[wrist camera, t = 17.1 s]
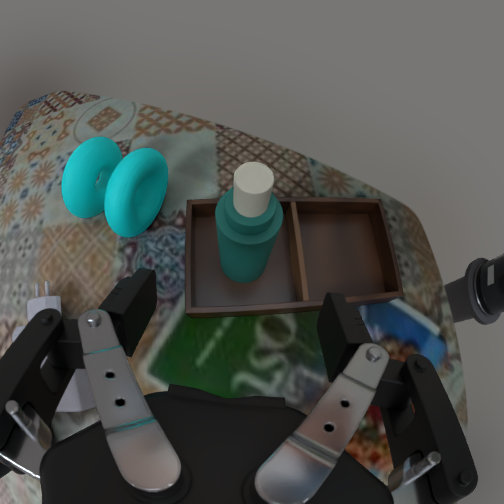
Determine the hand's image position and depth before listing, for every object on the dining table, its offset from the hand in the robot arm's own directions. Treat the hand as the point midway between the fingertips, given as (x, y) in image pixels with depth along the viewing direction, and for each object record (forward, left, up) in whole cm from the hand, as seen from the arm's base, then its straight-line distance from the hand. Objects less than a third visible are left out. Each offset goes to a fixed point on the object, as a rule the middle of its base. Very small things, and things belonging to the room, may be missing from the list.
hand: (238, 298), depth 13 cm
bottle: (-1, -7, -16) cm, 18 cm away
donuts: (+13, -15, -17) cm, 27 cm away
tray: (-7, -7, -17) cm, 20 cm away
